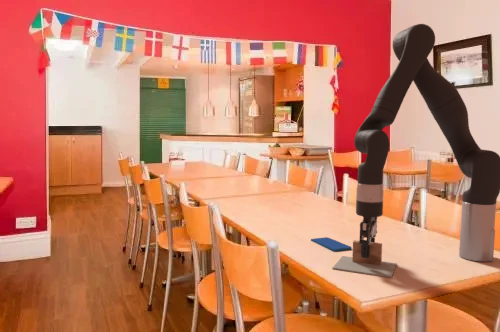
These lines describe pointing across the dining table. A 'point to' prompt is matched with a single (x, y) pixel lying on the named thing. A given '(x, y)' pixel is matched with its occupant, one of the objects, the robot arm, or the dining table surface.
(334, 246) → the smartphone
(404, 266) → the dining table surface
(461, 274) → the dining table surface
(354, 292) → the dining table surface
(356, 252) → the wooden toy block
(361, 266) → the mat
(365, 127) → the robot arm
